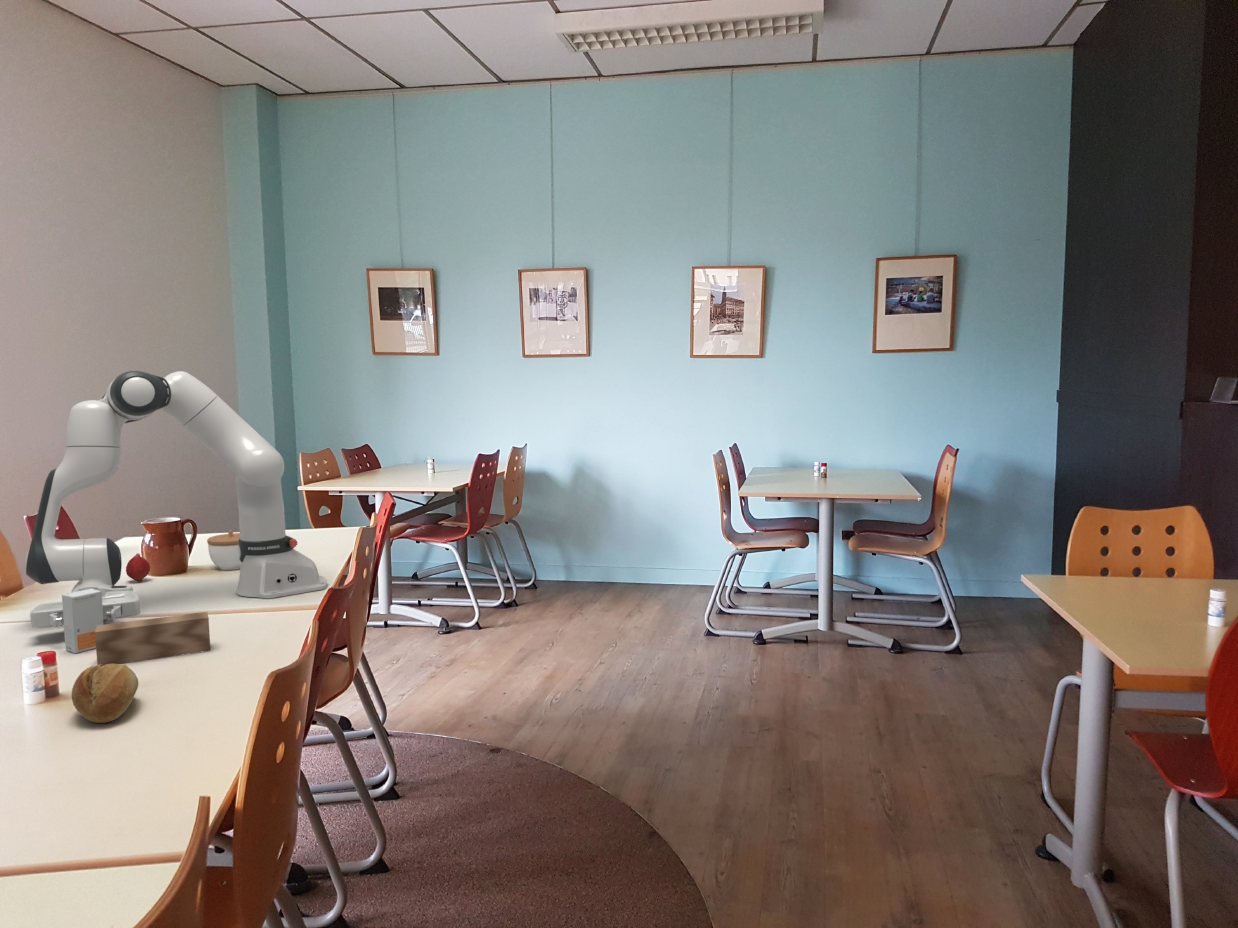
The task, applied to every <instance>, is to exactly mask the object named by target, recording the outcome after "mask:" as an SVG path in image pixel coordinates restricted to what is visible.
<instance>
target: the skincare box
mask: <svg viewBox="0 0 1238 928" xmlns="http://www.w3.org/2000/svg"><path fill="white" fill-rule="evenodd" d="M61 602H62V603H63V619H64V624H63V630H64V644H65V645H64V646H65V651H67V652H70V653H73V654H78V653H82V652H85V651H90V650H94V649H96V641H95V630H96V627H97V625H105V624H104V621H103V607H102V592H101V591H98V590H95V589H88V590H83V591H77V592H73V593H71V592H70V593H65V594H61Z"/></svg>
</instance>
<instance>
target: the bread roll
mask: <svg viewBox="0 0 1238 928" xmlns="http://www.w3.org/2000/svg"><path fill="white" fill-rule="evenodd" d="M138 688H139V679H138V677H137V675H136V673H135V671H133V670H132V669H131V668H130V667H129V666H127V665H126V664H125V663H121V664H113V663H112V664H106V665H104V666H103V664H99V665H94V666H88V667H87V668H86V669H84V670H83V671H81V673H80V674H79V675H78V676H77V678H76V680H75V681H74V683H73V686H72V688H71V689H72V690H71V700H72V705H73V706H74V707H75V709H76V711H77V712H78V713H79V714H80V716H81V717H83V718H84V719H85V720H87V721H90V722H92V723H98V724H99V723H100V724H101V723H102V724H103V723H104V724H105V723H109V722H112V721H114V720H117V719H118V718H119V717H120V716H121V715H122V714H124V713H125V711H127V709H128V708H129V706H130V705H131V702H132V701H133V699H134V697H135V695H136V693H137V690H138Z"/></svg>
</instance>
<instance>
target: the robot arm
mask: <svg viewBox="0 0 1238 928" xmlns="http://www.w3.org/2000/svg"><path fill="white" fill-rule="evenodd" d="M156 411H163V412H164V413H167V414H168V415H170V416H172V417H173V418H174V419H175V420H176V421H177V422H178V423H180V424H181V426H183V428H185V429H186V430H187V431H188V432H189V433H190V434H191V435H193V437H195V438H196V439H197V440H198V441H199V442H200V443H201V444H203V445H204V446H205V447H206V448H207V449H209V451H210V452H211V453H213V455H215V457H216V458H218V459H219V460H220V462H221V463H223V464H224V465H226V467H227V468H228V469H230V470H231V471H232V472H233V473H234V476H235V477H234V478H235V487H236V501H237V509H238V525H239V526H238V527H239V528H238V529H239V533H240V539H239V544H238V553H239V559H240V561H241V563H240V569H239V577H238V583H237V587H236V592H235V594H237V596H242V597H250V598H260V599H274V598H278V597H279V598H280V597H285V596H292V595H298V594H303V593H308V592H315V591H320V590H325V589H326V588H327V587H328V585H329V584H328V580H327V579H326V578H325V577H323V576H320V575H319V571H318V570H319V569H318V568H317V565H316V563H315V562H314V560H312V559H311V558H309V557H308V556H306V555H305V554H303V553H301V552H299V551H298V550H296V549H295V548H296V547H297V546H298V541H297V539H296V538H293V537H291V536H289V535H287V534H286V521H285V519H286V518H285V517H286V515H285V504H284V497H283V490H282V489H283V487H282V480H281V479H282V476H283V475H284V472H285V461H284V458H283V456H282V455H281V453H280V452H279V451H278V450H277V449H276V448H274V447H273V445H272V444H271V443H269V442H268V441H267V440H266V439H265V438H264V437H263V436H261V435H260V433H258V432H257V431H256V430H255V429H254V428H253V427H252V426H250V425H249V424H248V422H247V421H246V420H244V419H243V418H242V417H241V415H239V414H238V413H237V412H236V411H235V410H234V409H233V408H231V407H230V405H228V403H226V402H225V401H224V400H223V399H222V398H221V397H220V396H219V395H218V394H216V392H214V391H213V390H212V388H210V387H208V386H207V385H206V384H205V383H203V382H202V381H201V380H199V379H198V378H197V377H195V376H193V375H192V374H190V373H189V372H186V371H182V370H180V371H179V370H177V371H174V372H171V373H169V374H167V375H166V376H164V377H163V376H160V375H155V374H152V373H148V372H146V371H140V370H128V371H125V372H122V373H121V374H119V375H118V376H116V377H115V378H114V379H112V381H111V382H110V384H109V385H108V387H107V390H106V391H105V393H104V394H103V396H102V397H101V399H98V400H97V399H90V400H89V399H88V400H84V401H80V402H78V403H76V404H74V405H73V406H72V408H71V409H70V413H69V416H68V420H67V425H66V431H65V442H64V443H65V445H64V446H65V447H64V448H65V449H64V455H63V458H62V460H61V462H60V463H59V465H58V466H57V468H54V469H52V470H50V471H49V473H48V475H47V477H46V479H45V481H44V486H43V488H42V493H41V498H40V502H39V506H38V510H37V514H36V515H37V516H36V519H35V523H34V529H33V533H32V538H31V540H30V541H31V542H30V545H29V548H28V550H27V552H26V556H25V560H24V569H25V574H26V576H27V577H29V578H30V579H31V580H33V581H34V582H36V583H38V584H40V585H47V584H55V583H60V582H74V581H76V583H75V585H74V586H73V588H72V590H71V592H70V593H73V592H77V591H83V590H88V589H95V590H98V591H101V592H102V607H103V622H104V621H113V620H115V619H119V618H127V617H136V616H139V615H140V614H141V605H140V597H139V594H138V593H137V591H135V590H134V587H133V586H132V585H117V583H118V582H119V580H121V579H120V578H121V575H122V574H121V573H122V565H123V564H122V563H123V562H122V554H121V550H120V547H119V546H118V544H117V543H115V541H113V539H111V538H109V537H92V538H91V537H89V538H88V537H87V538H71V539H67V538H66V539H65V538H64V539H59V538H57V537H56V536H55V534H56V530H57V524H58V521H59V515H60V512H61V507H62V504H63V502H64V501H65V500H66V499H67V498H68V497H70V496H71V495H74V494H77V493H79V492H82V491H84V490H87V489H90V488H93V487H96V486H99V485H101V484H104V483H105V482H107V481H109V480H110V479H111V478H113V477H114V476H115V475H116V474H117V472H118V470H119V467H120V462H121V449H122V448H121V435H122V429H123V426H124V425H125V424H127V423H132V422H138V421H141V420H143V419H146V418H148V417H149V416H151V415H152V414H154V413H155V412H156ZM30 625H31V627H32V628H35V629H36V628H44V627H54V628H56V627H63V626H64V619H63V603H62V601H55V602H49V603H48V602H47V603H42V604H39V605H37V606H35V607H34V608H33V609H32V610H31V611H30Z"/></svg>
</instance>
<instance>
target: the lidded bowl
mask: <svg viewBox="0 0 1238 928" xmlns="http://www.w3.org/2000/svg"><path fill="white" fill-rule="evenodd" d="M227 531H228V532H227V533H225V534H219V535H214V536H211V537H210V536H209V537H208V538H207V540H206V541H207V549H208V554H209V555H208V556H209V558H210V560H211V561H212V563H213V564H214V565H215V566H216V567H217V568H218V569H219V570H221V571H234V570H240V563H241V561H240V559H239V553H238V544H239V539H240V532H238V533H237V532H235V533H234V531H233V530H227Z"/></svg>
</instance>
